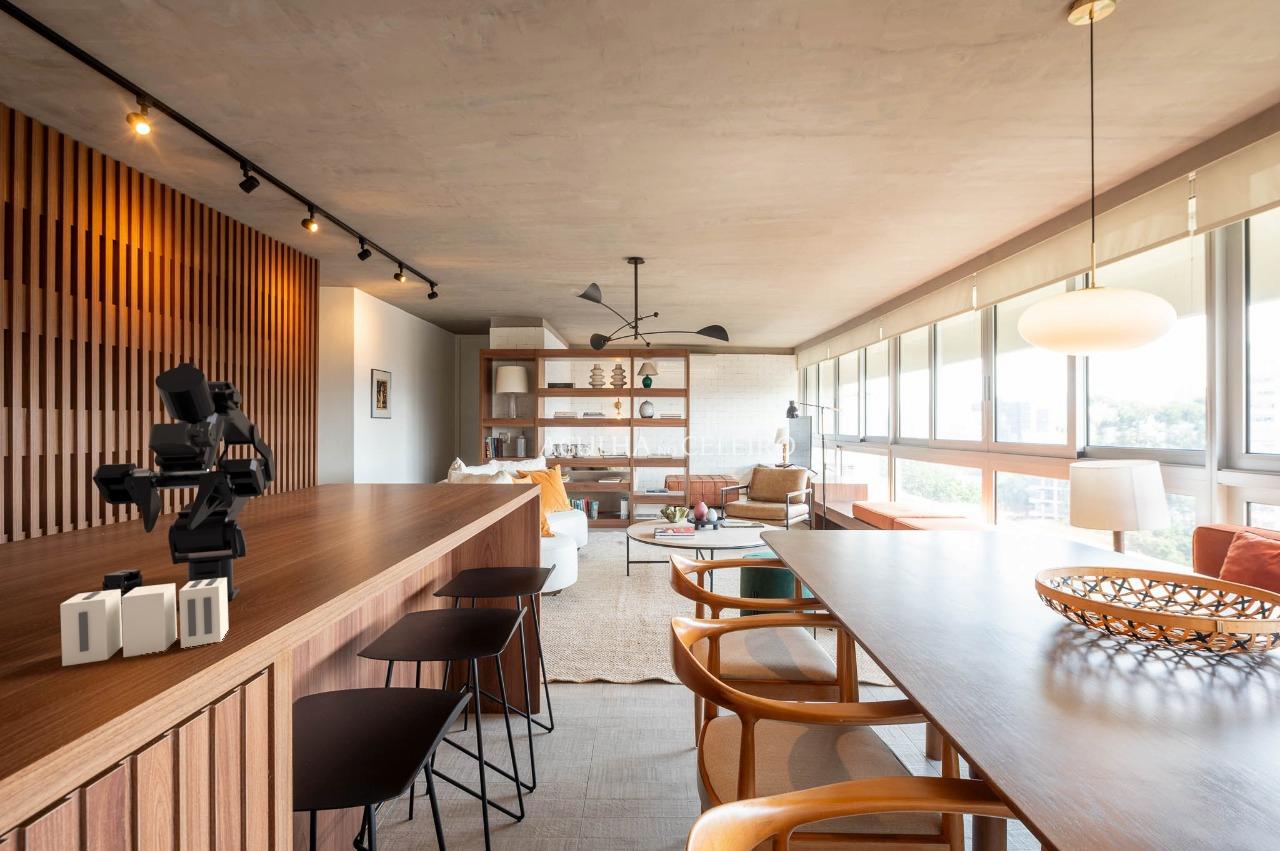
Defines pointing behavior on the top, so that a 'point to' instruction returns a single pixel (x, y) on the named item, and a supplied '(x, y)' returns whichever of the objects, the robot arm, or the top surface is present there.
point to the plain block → (149, 619)
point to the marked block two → (203, 612)
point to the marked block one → (91, 627)
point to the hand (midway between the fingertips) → (168, 529)
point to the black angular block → (123, 581)
